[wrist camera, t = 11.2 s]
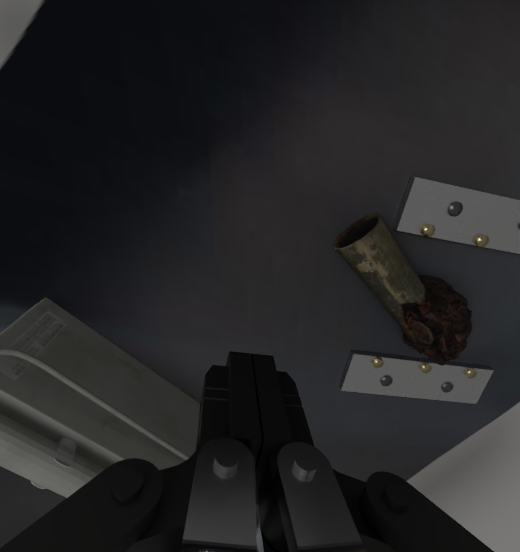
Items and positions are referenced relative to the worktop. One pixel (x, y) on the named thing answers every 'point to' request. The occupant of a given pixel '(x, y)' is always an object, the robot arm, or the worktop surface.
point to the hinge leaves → (454, 227)
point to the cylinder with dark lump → (407, 291)
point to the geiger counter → (83, 404)
